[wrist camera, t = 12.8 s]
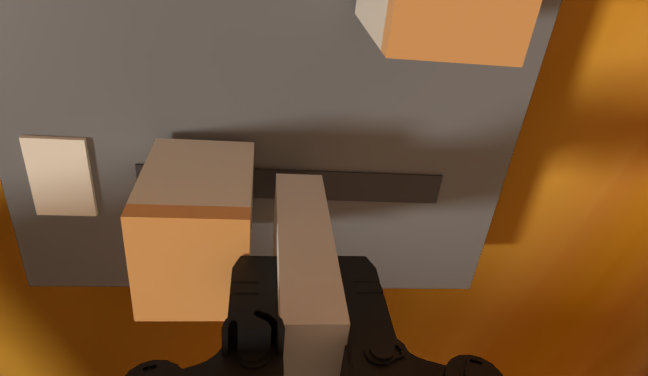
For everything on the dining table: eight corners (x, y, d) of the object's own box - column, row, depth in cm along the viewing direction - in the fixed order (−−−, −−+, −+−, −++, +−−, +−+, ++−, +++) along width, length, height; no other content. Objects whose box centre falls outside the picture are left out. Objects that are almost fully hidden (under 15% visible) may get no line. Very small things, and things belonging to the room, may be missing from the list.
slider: (163, 227, 18) (134, 321, 14) (155, 137, 16) (120, 216, 12) (251, 229, 19) (247, 321, 15) (254, 142, 17) (250, 219, 13)
